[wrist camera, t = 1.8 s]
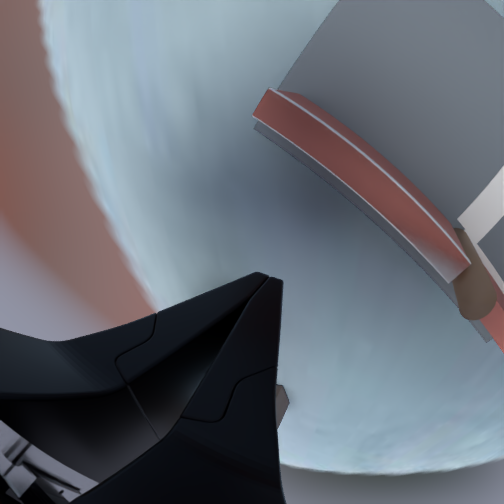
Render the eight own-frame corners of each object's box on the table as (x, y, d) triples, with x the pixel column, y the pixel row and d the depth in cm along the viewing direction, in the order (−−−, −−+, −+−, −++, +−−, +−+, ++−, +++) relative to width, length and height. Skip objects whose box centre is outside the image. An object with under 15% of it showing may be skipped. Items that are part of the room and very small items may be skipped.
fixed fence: (519, 311, 11) (540, 373, 7) (501, 326, 13) (517, 389, 8) (455, 219, 12) (484, 275, 7) (434, 240, 13) (451, 303, 9)
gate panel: (450, 222, 11) (471, 263, 8) (434, 238, 12) (448, 283, 9) (299, 93, 12) (268, 87, 9) (286, 113, 13) (251, 116, 9)
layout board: (610, 203, 4) (613, 205, 4) (485, 340, 14) (486, 343, 13) (389, -58, 5) (389, -61, 5) (255, 128, 14) (253, 128, 14)
